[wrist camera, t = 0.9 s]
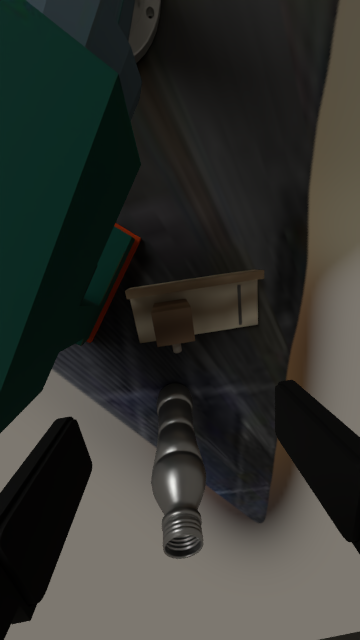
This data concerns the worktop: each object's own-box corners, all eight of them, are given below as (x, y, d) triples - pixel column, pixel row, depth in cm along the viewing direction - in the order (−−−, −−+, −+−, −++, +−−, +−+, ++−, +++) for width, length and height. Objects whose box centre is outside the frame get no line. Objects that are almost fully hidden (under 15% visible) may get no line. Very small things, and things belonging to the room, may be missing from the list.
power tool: (138, 105, 22) (-19, -831, 3) (187, 142, 24) (276, -352, 5) (51, 321, 29) (-164, 427, 10) (92, 340, 31) (-27, 463, 12)
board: (129, 288, 29) (124, 291, 25) (252, 269, 29) (264, 270, 26) (141, 339, 31) (138, 348, 28) (253, 321, 32) (264, 328, 29)
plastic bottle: (197, 386, 35) (234, 533, 16) (178, 411, 36) (192, 573, 17) (168, 372, 34) (172, 514, 15) (150, 399, 35) (132, 559, 16)
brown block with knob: (153, 303, 28) (150, 313, 22) (185, 298, 28) (191, 307, 22) (161, 341, 30) (159, 359, 24) (190, 336, 30) (196, 353, 24)
